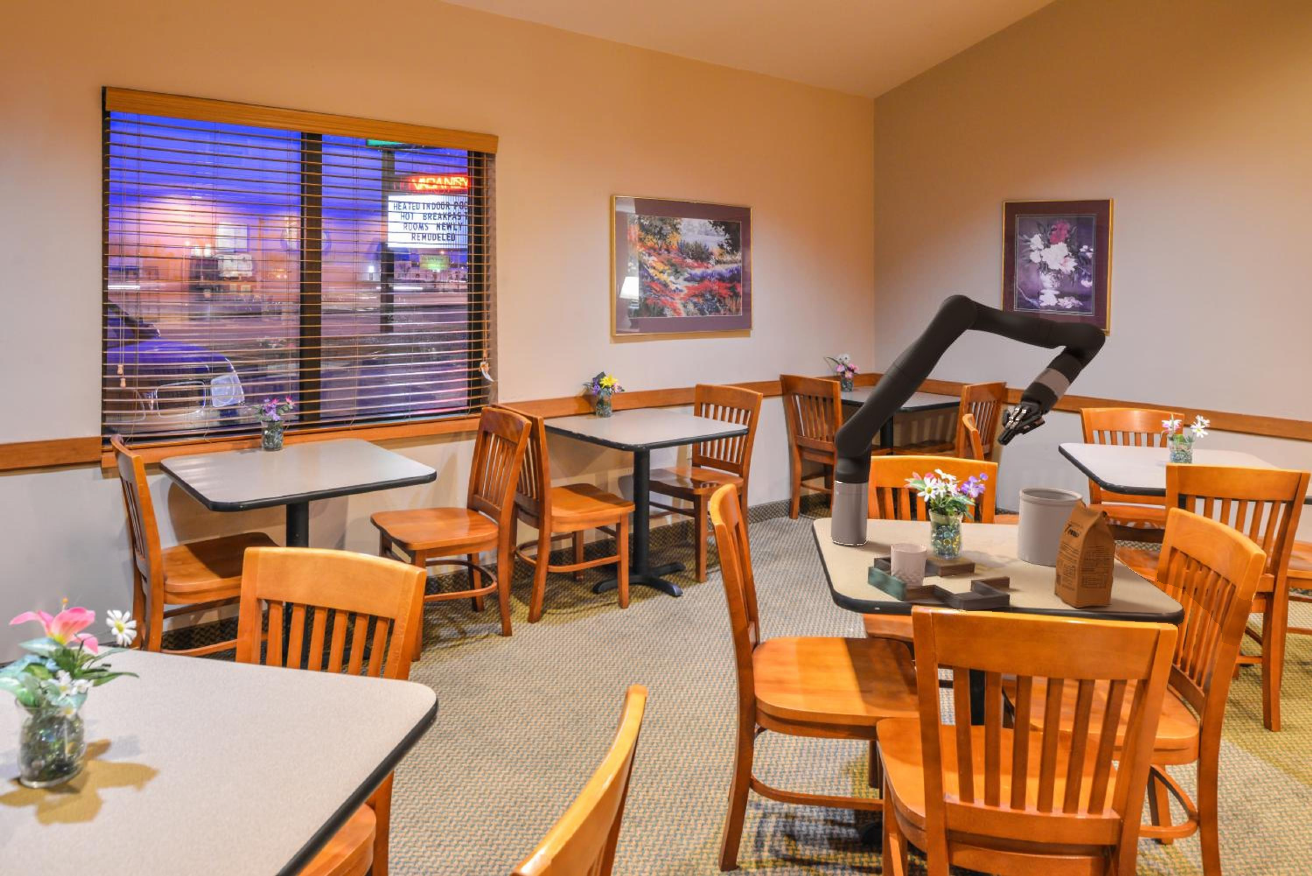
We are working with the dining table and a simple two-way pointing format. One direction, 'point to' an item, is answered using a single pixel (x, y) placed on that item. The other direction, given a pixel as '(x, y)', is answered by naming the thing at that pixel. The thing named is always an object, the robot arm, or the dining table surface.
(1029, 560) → the utensil holder
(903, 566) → the white cup
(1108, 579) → the coffee package
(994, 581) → the grey compartment tray
